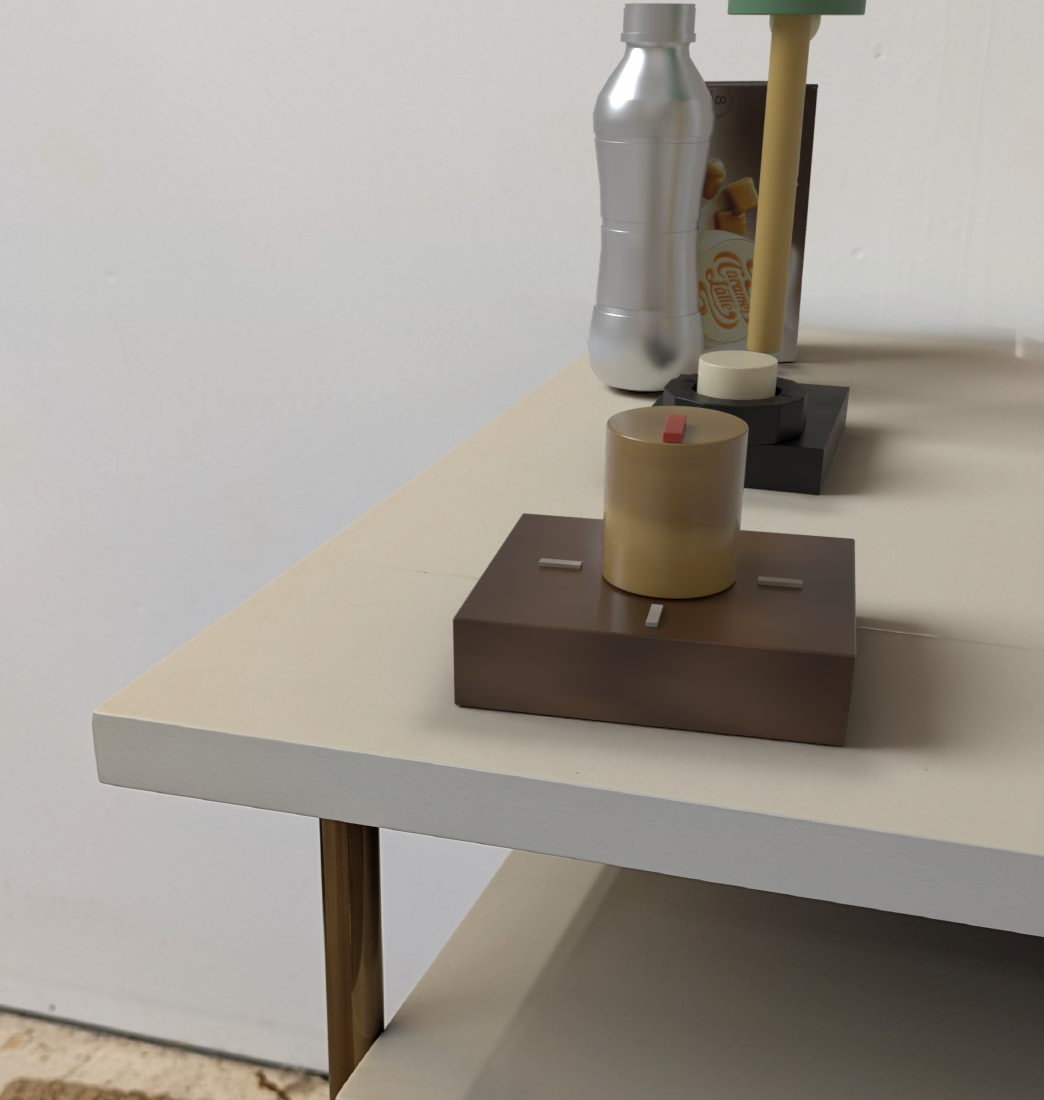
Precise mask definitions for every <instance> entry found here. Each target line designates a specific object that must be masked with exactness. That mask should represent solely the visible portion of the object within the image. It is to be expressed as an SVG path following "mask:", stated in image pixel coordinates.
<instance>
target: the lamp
mask: <svg viewBox="0 0 1044 1100" xmlns="http://www.w3.org/2000/svg"><path fill="white" fill-rule="evenodd" d="M866 6H867V0H727V10H726V11H727V12H726V13H727V15H729V16H769V20H768V22H769V23H768V24H769V25H768V26H769V30H770V33H771V38H770V50H769V59H768V61H769V62H768V73H767V74H768V75H767V81H768V85H767V97H766V110H765V122H764V135H763V147H762V160H761V172H760V185H759V197H758V210H757V222H756V235H755V247H754V260H753V272H752V285H751V297H750V310H749V322H748V335H747V347H746V348H747V350H748V351H751V352H758V353H777V352H780V351H781V349H782V339H783V328H784V317H785V306H786V295H787V285H788V274H789V263H790V252H791V241H792V230H793V219H794V208H795V197H796V187H797V176H798V165H799V154H800V143H801V132H802V121H803V110H804V100H805V89H806V84H807V76H808V65H809V55H810V44H811V41H812V40H813V39H814V38H815V36H816V35H817V33H818V32H819V29H820V26H821V22H822V20H821V19H822V16H865V14H866Z"/></svg>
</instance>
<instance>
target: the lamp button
mask: <svg viewBox="0 0 1044 1100" xmlns="http://www.w3.org/2000/svg"><path fill="white" fill-rule="evenodd" d="M778 367H779V362H778V360H777V359H776V358H775V357H773V356H770V355H767V354H763V353H758V352H751V351H736V350H729V351H715V352H710V353H706V354H703V355H701V356H700V358H699V369H698V385H697V393H698V394H701V395H705V396H709V397H714V398H721V399H733V400H754V399H767V398H771V397H774V396H775V390H776V379H777V377H778Z"/></svg>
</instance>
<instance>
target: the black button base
mask: <svg viewBox="0 0 1044 1100" xmlns="http://www.w3.org/2000/svg"><path fill="white" fill-rule="evenodd" d="M697 385H698V373H697V374H696V373H695V374H691V375H688V374H680V375H679V376H678V378H674V379H671V380H670V381H669V382H668V384H667V385H666V386H665V387H664V390H663V392H662V394H661V395H659V397H658V398H657V399H656V400H655V402H654V403H653V404H651V406H650V407H653V406H687V407H698V408H705V409H711V410H716V411H721V412H724V413H728V414H731V415H734V416H736V417H738V418H740V419H742V420H743V421H745V422H746V423H747V425H748V428H749V432H748V444H747V456H746V468H745V480H744V489H749V490H761V491H770V492H781V493H789V494H801V495H812V496H820V494H821V492H822V489H823V487H824V484H825V481H826V479H827V476H828V473H829V471H830V468H831V466H832V463H833V460H834V458H835V455H836V452H837V450H838V448H839V444H840V442H841V440H842V437H843V434H844V431H845V429H846V425H847V415H848V407H849V399H850V398H849V397H850V389H851V388H850V387H849V386H841V385H828V384H815V383H803V382H802V383H801V382H797V381H795V380H793V379H788V378H784V377H781V376H780V377H779V376H777V379H776V390H775V396H774V397H771V398H767V399H754V400H733V399H721V398H714V397H709V396H705V395H701V394H698V393H697Z"/></svg>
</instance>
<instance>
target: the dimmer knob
mask: <svg viewBox="0 0 1044 1100" xmlns="http://www.w3.org/2000/svg"><path fill="white" fill-rule="evenodd" d="M605 425H606V426H605V449H604V450H605V453H604V481H603V483H604V485H603V487H604V488H603V511H602V513H603V514H602V519H603V539H602V568H601V570H602V574H603V576H604V578H605V579H606V580H607V581H608V582H609V583H610V584H612V585H613V586H615V587H617V588H619V589H622V590H624V591H627V592H630V593H634V594H637V595H642V596H648V597H654V598H666V599H686V598H697V597H704V596H708V595H712V594H716V593H719V592H721V591H723V590H726V589H727V588H729V587H730V586H731V585H732V584H733V583H734V581H735V580H736V576H737V565H738V553H739V541H740V530H742V528H741V527H742V517H743V516H742V515H743V505H744V504H743V502H744V490H745V488H744V480H745V468H746V456H747V444H748V432H749V428H748V425H747V423H746V422H745V421H743V420H742V419H740V418H738V417H736V416H734V415H731V414H728V413H724V412H721V411H716V410H711V409H705V408H698V407H687V406H653V407H651V406H644V407H642V406H641V407H635V408H632V409H626V410H624V411H619V412H617V413H615V414H613V415H611V416H610V417H609V418H608V419H607V421H606V424H605Z"/></svg>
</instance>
